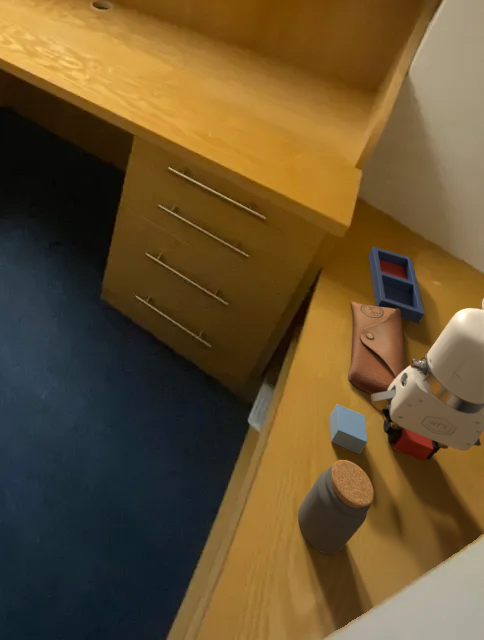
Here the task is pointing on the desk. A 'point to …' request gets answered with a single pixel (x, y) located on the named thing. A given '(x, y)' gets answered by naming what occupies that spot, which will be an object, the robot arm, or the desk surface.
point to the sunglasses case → (376, 347)
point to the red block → (414, 444)
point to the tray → (395, 283)
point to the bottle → (335, 506)
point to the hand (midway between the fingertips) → (406, 440)
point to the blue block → (348, 429)
